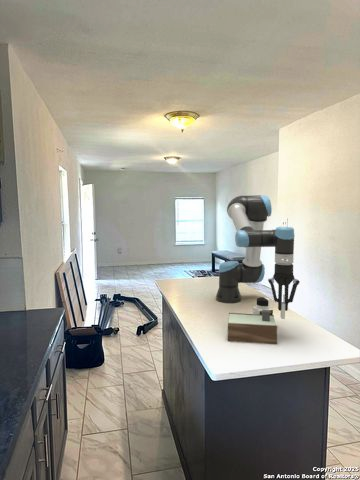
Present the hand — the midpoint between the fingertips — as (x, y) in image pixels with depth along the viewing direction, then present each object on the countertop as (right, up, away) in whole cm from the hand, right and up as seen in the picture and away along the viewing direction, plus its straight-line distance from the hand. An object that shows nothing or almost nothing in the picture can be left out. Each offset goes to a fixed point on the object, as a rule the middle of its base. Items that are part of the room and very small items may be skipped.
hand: (282, 317), depth 138 cm
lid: (-13, -2, +3) cm, 13 cm away
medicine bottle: (-3, -7, +21) cm, 22 cm away
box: (-13, -9, +3) cm, 16 cm away
